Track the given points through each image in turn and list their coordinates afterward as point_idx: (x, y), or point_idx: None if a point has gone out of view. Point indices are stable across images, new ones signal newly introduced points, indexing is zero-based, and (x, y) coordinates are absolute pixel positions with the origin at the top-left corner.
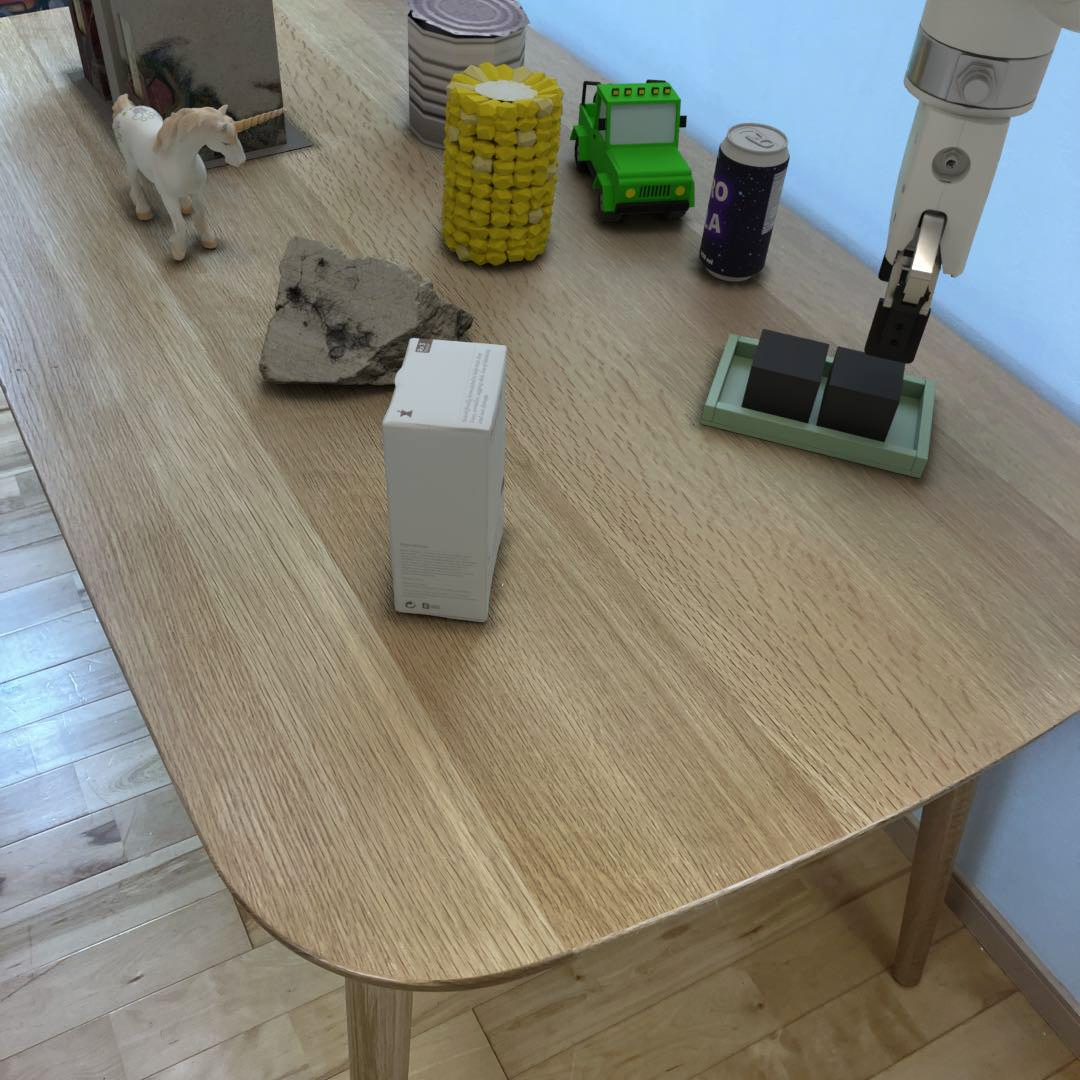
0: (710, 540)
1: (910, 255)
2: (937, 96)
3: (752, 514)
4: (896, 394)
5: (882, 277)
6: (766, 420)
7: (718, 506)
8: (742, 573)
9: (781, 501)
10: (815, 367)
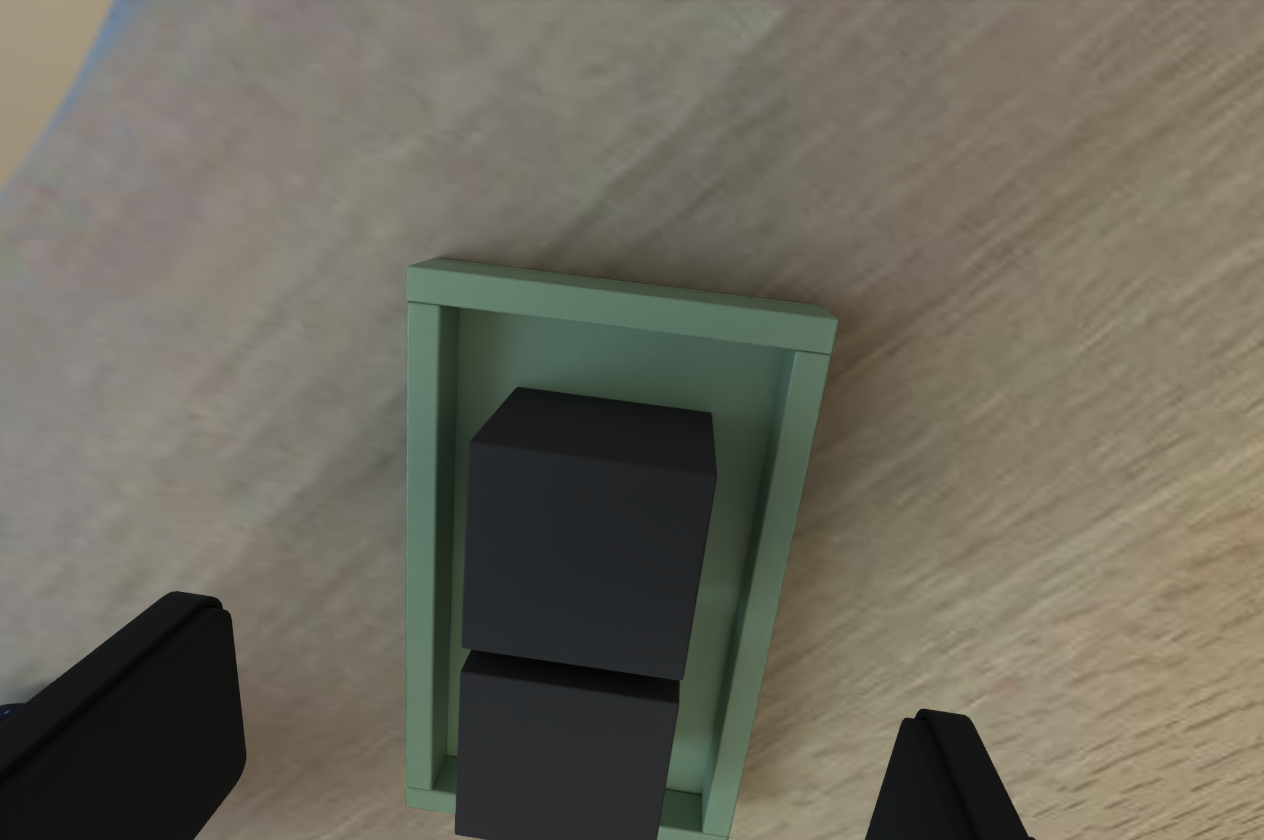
0: (1126, 785)
1: (100, 830)
2: None
3: (1028, 708)
4: (680, 485)
5: (234, 771)
6: (749, 734)
7: (1008, 771)
8: (1235, 727)
9: (973, 649)
10: (602, 713)
